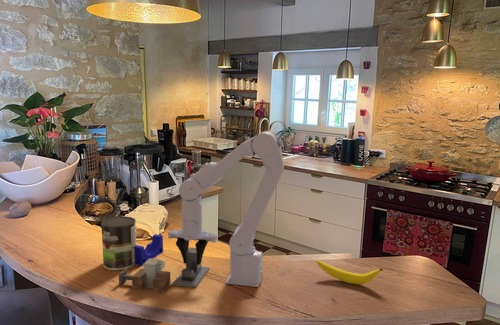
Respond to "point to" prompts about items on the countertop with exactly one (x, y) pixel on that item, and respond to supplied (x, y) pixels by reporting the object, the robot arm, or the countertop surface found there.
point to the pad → (195, 281)
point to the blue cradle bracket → (149, 250)
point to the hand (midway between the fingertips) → (192, 262)
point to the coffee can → (118, 243)
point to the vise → (159, 280)
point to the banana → (348, 274)
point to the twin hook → (152, 270)
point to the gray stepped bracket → (191, 265)
